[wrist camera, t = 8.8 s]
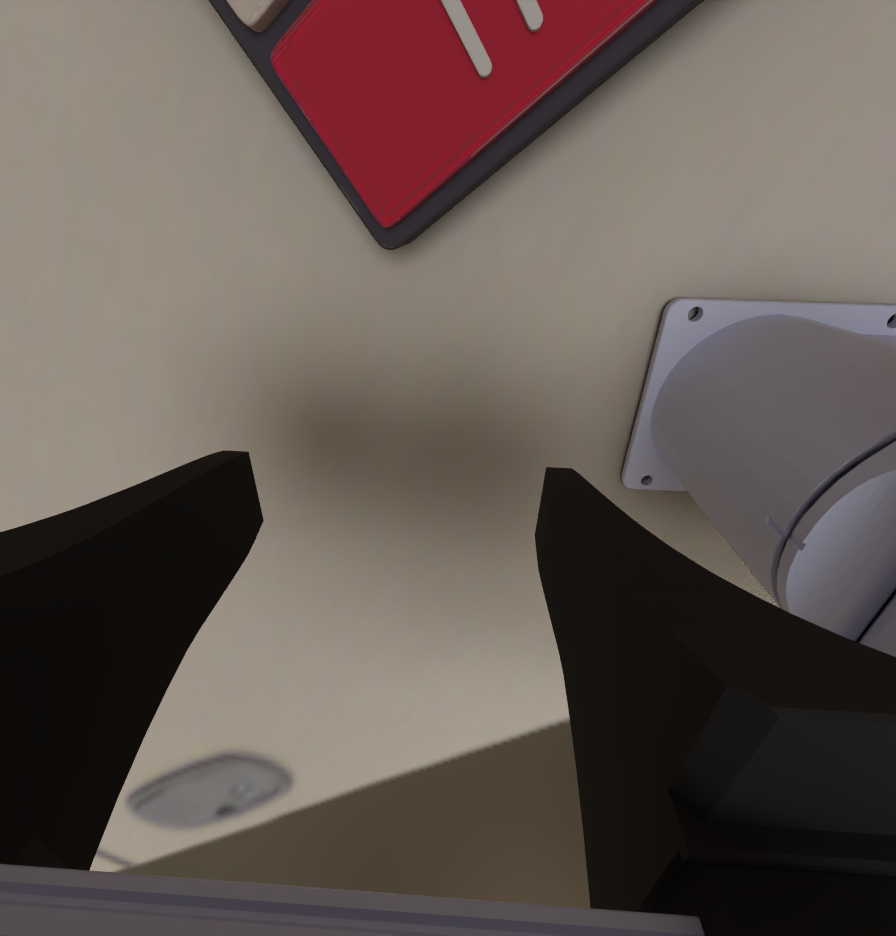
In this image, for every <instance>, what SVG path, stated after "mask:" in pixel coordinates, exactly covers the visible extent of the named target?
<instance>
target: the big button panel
mask: <svg viewBox="0 0 896 936" xmlns="http://www.w3.org/2000/svg"><path fill="white" fill-rule="evenodd" d="M209 1H210V3H211V4H212V6H213V7H214V9H215V10H216V12H217V13H218V14H219V16H220V17H221V19H222V20H223V22H224V23H225V24H226V26H227V27H228V29H229V30H230V32H231V33H232V35H233V36H234V37H235V39H236V40H237V42H238V43H239V45H240V46H241V47H242V49H243V50H244V52H245V53H246V55H247V56H248V58H249V59H250V60H251V62H252V63H253V65H254V66H255V68H256V69H257V71H258V72H259V73H260V75H261V76H262V78H263V79H264V81H265V82H266V83H267V85H268V86H269V88H270V89H271V91H272V92H273V94H274V95H275V96H276V98H277V99H278V101H279V102H280V104H281V105H282V107H283V108H284V109H285V111H286V112H287V114H288V115H289V117H290V118H291V119H292V121H293V122H294V124H295V125H296V127H297V128H298V130H299V131H300V132H301V134H302V135H303V137H304V138H305V140H306V141H307V143H308V144H309V145H310V147H311V148H312V150H313V151H314V153H315V154H316V155H317V157H318V158H319V160H320V161H321V163H322V164H323V166H324V167H325V168H326V170H327V171H328V173H329V174H330V176H331V177H332V178H333V180H334V181H335V183H336V184H337V186H338V187H339V189H340V190H341V191H342V193H343V194H344V196H345V197H346V199H347V200H348V202H349V203H350V204H351V206H352V207H353V209H354V210H355V212H356V213H357V214H358V216H359V217H360V219H361V220H362V222H363V223H364V225H365V226H366V227H367V229H368V230H369V232H370V233H371V235H372V236H373V238H374V239H375V240H376V241H377V243H378V244H379V245H380V246H381V247H382V248H384V249H387V250H394V249H397V248H399V247H401V246H403V245H406V244H408V243H410V242H411V241H413V240H414V239H415V238H417V237H418V236H419V235H420V234H421V233H423V232H424V231H425V230H426V229H427V228H429V227H430V226H431V225H432V224H433V223H435V222H436V221H437V220H438V219H440V218H441V217H442V216H443V215H444V214H446V213H447V212H448V211H449V210H450V209H452V208H453V207H454V206H455V205H457V204H458V203H459V202H460V201H461V200H463V199H464V198H465V197H466V196H467V195H469V194H470V193H471V192H472V191H473V190H475V189H476V188H477V187H478V186H480V185H481V184H482V183H483V182H484V181H486V180H487V179H488V178H489V177H490V176H492V175H493V174H494V173H495V172H496V171H498V170H499V169H500V168H501V167H502V166H504V165H505V164H506V163H507V162H509V161H510V160H511V159H512V158H513V157H515V156H516V155H517V154H518V153H519V152H521V151H522V150H523V149H524V148H525V147H527V146H528V145H529V144H530V143H531V142H533V141H534V140H535V139H536V138H538V137H539V136H540V135H541V134H542V133H544V132H545V131H546V130H547V129H548V128H550V127H551V126H552V125H553V124H554V123H556V122H557V121H558V120H559V119H560V118H562V117H563V116H564V115H565V114H567V113H568V112H569V111H570V110H571V109H573V108H574V107H575V106H576V105H577V104H579V103H580V102H581V101H582V100H583V99H585V98H586V97H587V96H588V95H589V94H591V93H592V92H593V91H594V90H596V89H597V88H598V87H599V86H600V85H602V84H603V83H604V82H605V81H606V80H608V79H609V78H610V77H611V76H612V75H614V74H615V73H616V72H617V71H619V70H620V69H621V68H622V67H623V66H625V65H626V64H627V63H628V62H629V61H631V60H632V59H633V58H634V57H635V56H637V55H638V54H639V53H640V52H641V51H643V50H644V49H645V48H646V47H648V46H649V45H650V44H651V43H652V42H654V41H655V40H656V39H657V38H658V37H660V36H661V35H662V34H663V33H664V32H666V31H667V30H668V29H669V28H670V27H672V26H673V25H674V24H675V23H677V22H678V21H679V20H680V19H681V18H683V17H684V16H685V15H686V14H687V13H689V12H690V11H691V10H692V9H694V8H695V7H696V6H697V5H699V4H700V3H701V2H702V1H704V0H209Z"/></svg>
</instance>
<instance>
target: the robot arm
mask: <svg viewBox="0 0 896 936" xmlns="http://www.w3.org/2000/svg"><path fill="white" fill-rule="evenodd" d="M693 307H697V308H698V313H697V315H696V317H694V318H693V319H690V320H689V319H688V313H689V311H690V310H691V309H692V308H693ZM894 314H895V316H894V319H893V320H892V322H891V323H889V324H888V325H887V321H888V319H889V318H890V317H891V316H892V315H894ZM648 475H649V476H650V477H649V478H648V479H647V480H646V481H641V479H642V478H643V477H644V476H648ZM621 480H622V482H623V483H624V485H625V486H626V487H627V488H629V489H640V490H663V491H686V492H688V494H689V495H690V496H691V497H692V499H693V500H694V501H695V502H696V504H697V505H698V506H699V507H700V509H701V510H702V511H703V512H704V514H705V515H706V516H707V517H708V519H709V520H710V521H711V522H712V524H713V525H714V526H715V527H716V529H717V530H718V531H719V532H720V534H721V535H722V536H723V537H724V539H725V540H726V541H727V542H728V544H729V545H730V546H731V547H732V549H733V550H734V551H735V552H736V553H737V555H738V556H739V557H740V558H741V560H742V561H743V562H744V563H745V565H746V566H747V567H748V568H749V570H750V571H751V572H752V573H753V575H754V576H755V577H756V578H757V580H758V581H759V582H760V583H761V585H762V586H763V587H764V588H765V590H766V591H767V592H768V593H769V595H770V596H771V597H772V598H773V600H774V601H775V602H776V603H777V605H778V606H779V607H780V608H779V607H776V606H774V605H772V604H770V603H768V602H766V601H764V600H762V599H760V598H758V597H756V596H754V595H752V594H751V593H749V592H747V591H745V590H743V589H741V588H739V587H737V586H735V585H734V584H732V583H730V582H728V581H726V580H724V579H722V578H721V577H719V576H717V575H715V574H714V573H712V572H710V571H708V570H707V569H705V568H703V567H702V566H700V565H698V564H697V563H695V562H694V561H692V560H690V559H689V558H687V557H686V556H684V555H682V554H681V553H679V552H678V551H676V550H675V549H673V548H672V547H670V546H669V545H667V544H666V543H664V542H663V541H661V540H660V539H659V538H657V537H656V536H654V535H653V534H652V533H650V532H649V531H648V530H646V529H645V528H644V527H642V526H641V525H640V524H638V523H637V522H636V521H634V520H633V519H632V518H631V517H629V516H628V515H627V514H626V513H624V512H623V511H622V510H621V509H619V508H618V507H617V506H616V505H615V504H613V503H612V502H611V501H610V500H609V499H608V498H606V497H605V496H604V495H603V494H602V493H601V492H599V491H598V490H597V489H596V488H595V487H594V486H593V485H591V484H590V483H589V482H588V481H587V480H586V479H585V478H583V477H582V476H581V475H580V474H579V473H577V472H576V471H575V470H573V469H571V468H552V467H546V472H545V478H544V484H543V490H542V496H541V502H540V508H539V514H538V520H537V526H536V532H535V542H536V552H537V560H538V569H539V574H540V578H541V583H542V587H543V591H544V595H545V599H546V603H547V607H548V611H549V615H550V619H551V623H552V627H553V631H554V635H555V638H556V642H557V646H558V650H559V654H560V659H561V664H562V669H563V674H564V681H565V688H566V695H567V702H568V709H569V716H570V723H571V731H572V738H573V745H574V754H575V762H576V770H577V779H578V787H579V796H580V805H581V814H582V823H583V833H584V843H585V853H586V862H587V874H588V885H589V894H590V907H591V908H578V907H564V906H551V905H538V904H525V903H512V902H511V903H510V902H498V901H485V900H472V899H458V898H445V897H431V896H418V895H406V894H390V893H379V892H365V891H352V890H338V889H326V888H313V887H312V888H311V887H298V886H286V885H273V884H260V883H259V884H258V883H246V882H233V881H220V880H206V879H193V878H180V877H165V876H153V875H140V874H126V873H114V872H100V871H89V870H90V867H91V864H92V862H93V859H94V856H95V854H96V851H97V849H98V846H99V844H100V841H101V839H102V836H103V834H104V831H105V829H106V826H107V824H108V821H109V819H110V816H111V814H112V811H113V808H114V806H115V803H116V801H117V798H118V796H119V794H120V791H121V789H122V787H123V784H124V782H125V780H126V777H127V775H128V773H129V771H130V768H131V766H132V764H133V761H134V759H135V757H136V755H137V752H138V750H139V748H140V745H141V743H142V741H143V738H144V736H145V734H146V732H147V730H148V728H149V726H150V724H151V722H152V720H153V717H154V715H155V713H156V711H157V709H158V707H159V705H160V703H161V701H162V698H163V696H164V694H165V692H166V690H167V688H168V686H169V684H170V682H171V680H172V679H173V677H174V675H175V673H176V671H177V669H178V667H179V665H180V663H181V661H182V659H183V657H184V655H185V653H186V651H187V649H188V648H189V646H190V644H191V643H192V641H193V639H194V638H195V636H196V634H197V633H198V631H199V630H200V628H201V626H202V625H203V623H204V622H205V620H206V619H207V617H208V616H209V614H210V613H211V611H212V610H213V608H214V607H215V605H216V604H217V602H218V601H219V599H220V597H221V596H222V594H223V593H224V591H225V590H226V588H227V587H228V585H229V584H230V582H231V581H232V579H233V578H234V576H235V574H236V573H237V571H238V570H239V568H240V567H241V565H242V564H243V562H244V560H245V559H246V557H247V555H248V554H249V552H250V549H251V547H252V545H253V543H254V541H255V539H256V537H257V534H258V532H259V530H260V527H261V525H262V523H263V516H262V512H261V507H260V502H259V498H258V493H257V489H256V484H255V480H254V475H253V470H252V466H251V461H250V457H249V452H242V451H220V452H217V453H214V454H211V455H208V456H205V457H202V458H200V459H197V460H195V461H192V462H190V463H187V464H185V465H182V466H180V467H178V468H175V469H173V470H170V471H168V472H166V473H163V474H161V475H159V476H156V477H154V478H151V479H149V480H147V481H144V482H142V483H140V484H137V485H135V486H132V487H130V488H127V489H125V490H122V491H119V492H117V493H114V494H112V495H109V496H107V497H104V498H102V499H99V500H96V501H94V502H91V503H89V504H86V505H84V506H81V507H78V508H75V509H72V510H70V511H67V512H64V513H61V514H58V515H55V516H52V517H49V518H46V519H42V520H39V521H36V522H33V523H30V524H27V525H24V526H20V527H17V528H14V529H10V530H7V531H3V532H0V936H896V304H873V303H841V302H809V301H777V300H745V299H713V298H676V299H674V300H672V301H670V302H669V303H668V305H667V306H666V307H665V310H664V312H663V316H662V320H661V324H660V327H659V331H658V335H657V339H656V343H655V347H654V351H653V355H652V359H651V362H650V366H649V370H648V374H647V378H646V382H645V386H644V390H643V394H642V397H641V401H640V405H639V409H638V413H637V417H636V421H635V425H634V429H633V432H632V436H631V440H630V444H629V448H628V452H627V456H626V460H625V464H624V467H623V471H622V475H621Z"/></svg>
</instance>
